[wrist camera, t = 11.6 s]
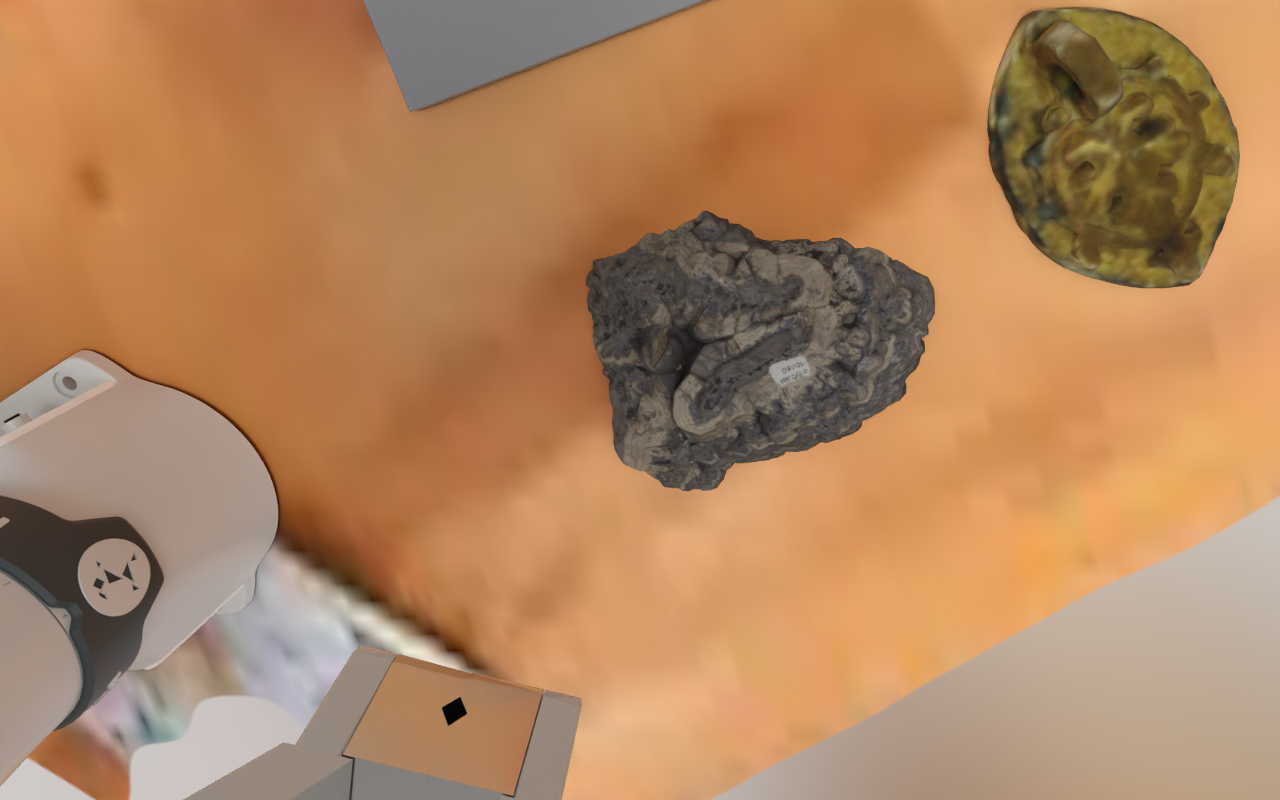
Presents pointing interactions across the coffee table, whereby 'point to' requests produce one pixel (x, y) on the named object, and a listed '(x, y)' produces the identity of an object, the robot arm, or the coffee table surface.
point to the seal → (1112, 146)
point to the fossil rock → (748, 345)
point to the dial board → (494, 37)
